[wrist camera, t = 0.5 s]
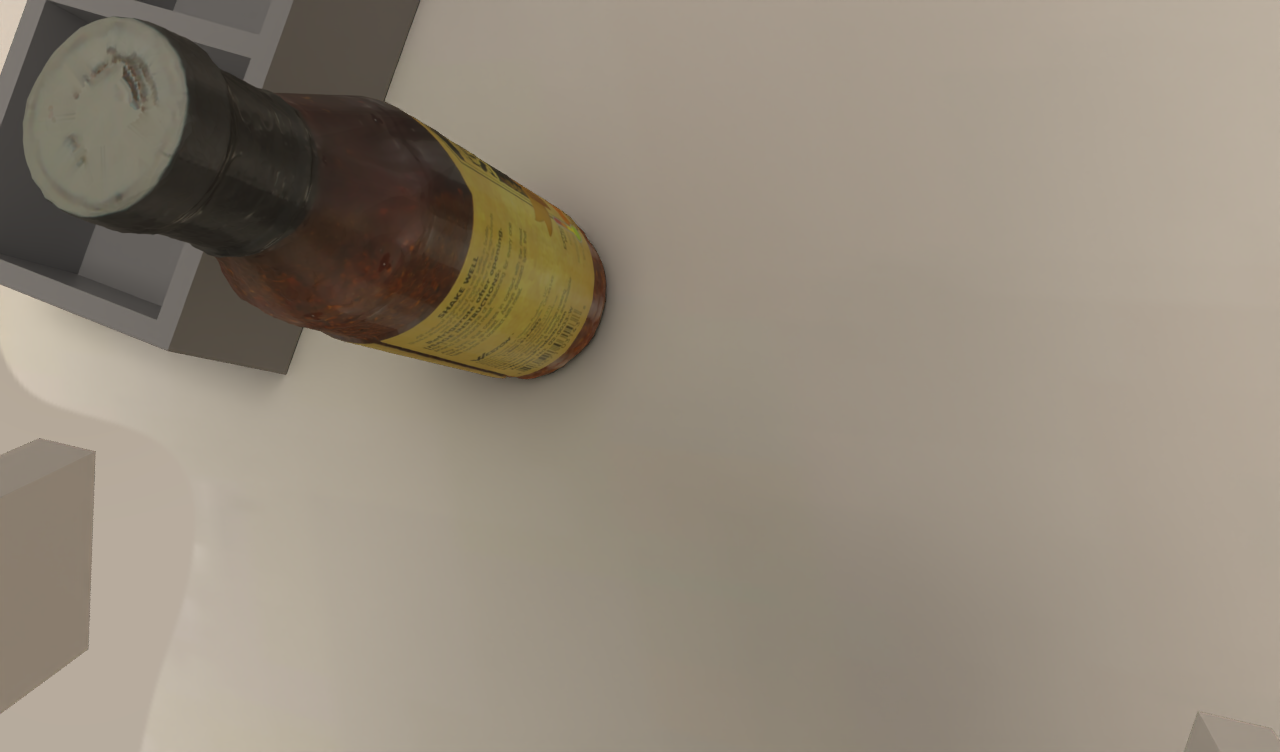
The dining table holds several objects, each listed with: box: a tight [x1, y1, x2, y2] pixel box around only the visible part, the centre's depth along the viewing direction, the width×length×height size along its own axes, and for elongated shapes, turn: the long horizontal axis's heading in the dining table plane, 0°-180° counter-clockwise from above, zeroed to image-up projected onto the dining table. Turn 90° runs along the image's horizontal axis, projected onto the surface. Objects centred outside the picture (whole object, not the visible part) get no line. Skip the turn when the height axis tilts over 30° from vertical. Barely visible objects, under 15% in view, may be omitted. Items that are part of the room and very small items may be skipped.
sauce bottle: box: [23, 16, 606, 379], centre depth 31 cm, size 6×6×20 cm
